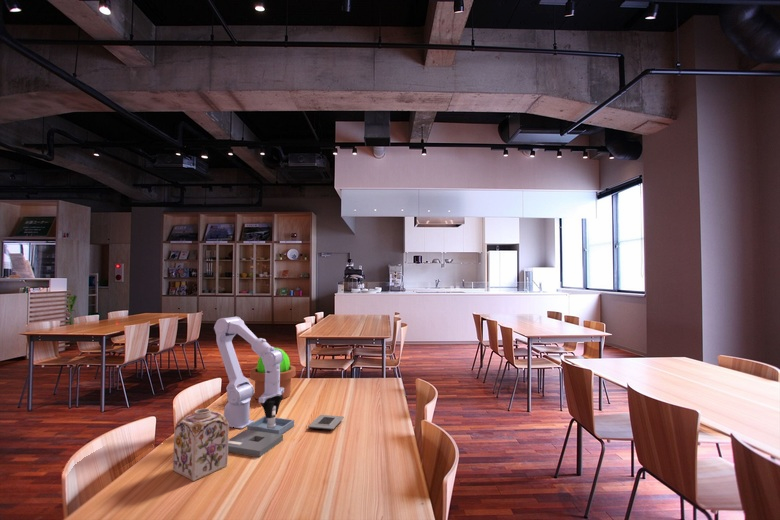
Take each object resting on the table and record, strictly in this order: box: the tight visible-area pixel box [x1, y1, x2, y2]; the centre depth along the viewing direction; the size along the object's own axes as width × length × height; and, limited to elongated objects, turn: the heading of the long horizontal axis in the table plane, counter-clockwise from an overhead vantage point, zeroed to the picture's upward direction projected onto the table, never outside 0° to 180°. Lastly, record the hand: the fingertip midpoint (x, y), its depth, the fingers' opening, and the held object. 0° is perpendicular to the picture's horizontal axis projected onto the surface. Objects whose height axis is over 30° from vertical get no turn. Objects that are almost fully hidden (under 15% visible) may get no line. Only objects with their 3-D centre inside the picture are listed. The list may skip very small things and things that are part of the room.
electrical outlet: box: [307, 414, 345, 431], centre depth 154 cm, size 13×10×2 cm
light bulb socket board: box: [228, 429, 284, 458], centre depth 135 cm, size 16×14×2 cm
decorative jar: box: [172, 407, 230, 482], centre depth 119 cm, size 12×12×18 cm
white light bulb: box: [267, 405, 277, 429], centre depth 150 cm, size 3×3×8 cm
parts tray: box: [246, 415, 295, 435], centre depth 150 cm, size 14×11×2 cm
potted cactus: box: [249, 346, 297, 401], centre depth 193 cm, size 22×22×25 cm
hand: (271, 415), depth 150 cm, fingers open, 3 cm apart
